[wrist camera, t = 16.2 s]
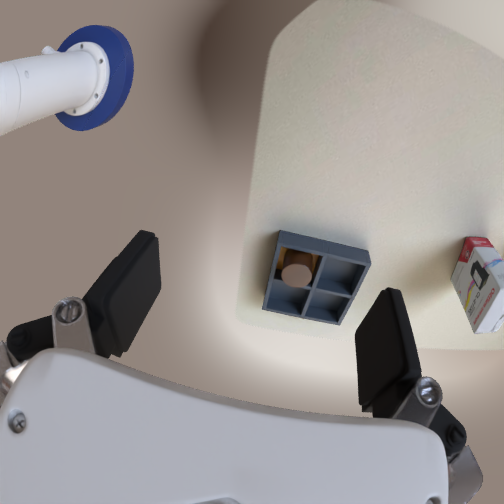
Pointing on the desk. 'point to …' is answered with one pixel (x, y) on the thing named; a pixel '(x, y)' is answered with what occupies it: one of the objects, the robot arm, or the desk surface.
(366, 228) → the desk surface
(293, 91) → the desk surface
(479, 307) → the ink box
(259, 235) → the desk surface
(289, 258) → the cylinder
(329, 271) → the grid
